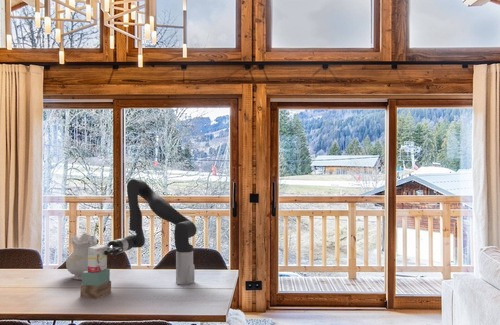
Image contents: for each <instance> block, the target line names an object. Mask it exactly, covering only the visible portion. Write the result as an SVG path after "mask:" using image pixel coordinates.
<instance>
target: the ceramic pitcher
mask: <svg viewBox="0 0 500 325" xmlns="http://www.w3.org/2000/svg"><path fill="white" fill-rule="evenodd" d="M97 242H98V239H97V237H94V236H93V235H92V234H91V233H90V234H89V233H87V232H86V233H82V235H80V236H77V235H72V237H71V245H72V246H73V252H72V253H71V254H70V255H69V256H68V257H67V258H66V259H65V266H66V269H67V271H68V273H70V274H71V275H73V280H78V281H79V280H81V281H82V272H85V271H87V270H88V248H89V247H93V246H97Z"/></svg>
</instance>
